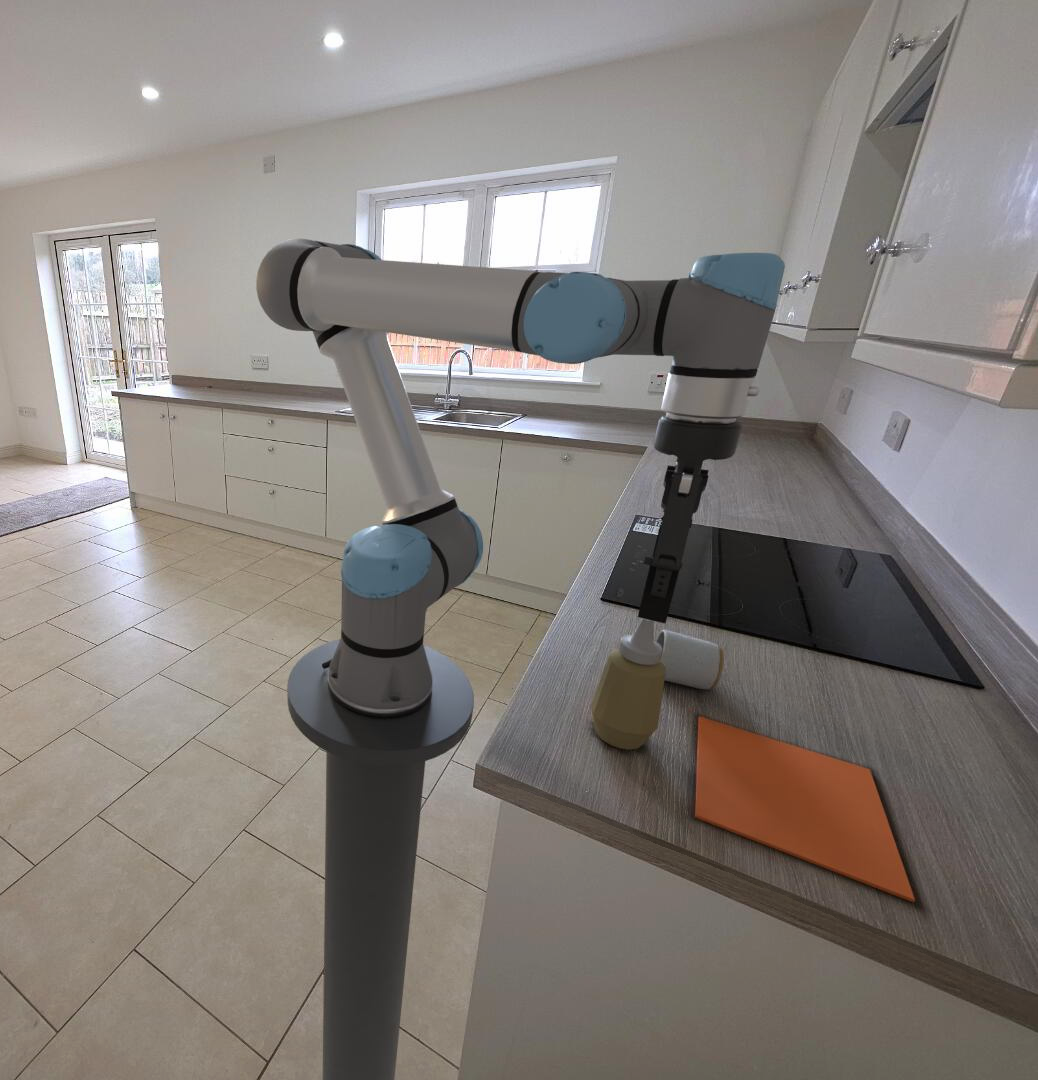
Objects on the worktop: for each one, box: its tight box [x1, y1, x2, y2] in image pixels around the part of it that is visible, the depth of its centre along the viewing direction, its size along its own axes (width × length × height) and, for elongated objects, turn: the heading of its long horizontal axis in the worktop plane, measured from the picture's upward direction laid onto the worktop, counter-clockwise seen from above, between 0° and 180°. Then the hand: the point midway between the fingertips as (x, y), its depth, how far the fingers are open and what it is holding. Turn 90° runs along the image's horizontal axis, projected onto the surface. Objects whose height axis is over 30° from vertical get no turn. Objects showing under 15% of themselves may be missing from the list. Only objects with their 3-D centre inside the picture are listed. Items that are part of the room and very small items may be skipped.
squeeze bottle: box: [590, 618, 666, 751], centre depth 72 cm, size 8×8×18 cm
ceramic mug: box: [655, 629, 725, 690], centre depth 87 cm, size 11×8×8 cm
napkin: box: [694, 715, 916, 903], centre depth 67 cm, size 18×20×1 cm
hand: (656, 595), depth 68 cm, fingers open, 13 cm apart
